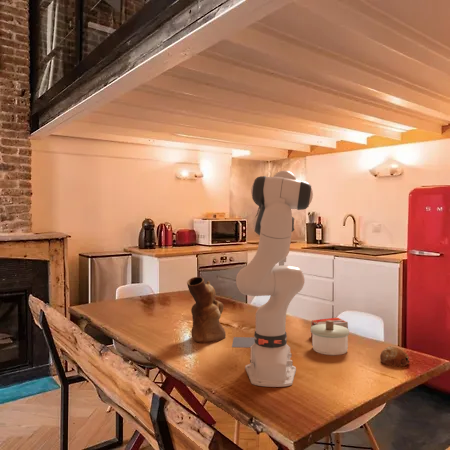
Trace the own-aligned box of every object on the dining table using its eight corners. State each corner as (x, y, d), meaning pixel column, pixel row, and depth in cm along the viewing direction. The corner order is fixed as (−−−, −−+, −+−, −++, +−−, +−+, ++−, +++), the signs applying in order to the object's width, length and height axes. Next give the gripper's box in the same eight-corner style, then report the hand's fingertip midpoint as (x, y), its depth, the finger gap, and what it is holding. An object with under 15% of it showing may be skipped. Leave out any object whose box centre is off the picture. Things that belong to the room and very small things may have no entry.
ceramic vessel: (232, 337, 191) (231, 274, 190) (204, 350, 173) (203, 280, 172) (205, 332, 200) (205, 271, 199) (176, 344, 182) (175, 277, 181)
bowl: (350, 355, 167) (350, 337, 166) (315, 354, 168) (315, 336, 168) (343, 344, 181) (343, 327, 181) (310, 343, 182) (310, 327, 182)
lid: (353, 338, 165) (353, 326, 165) (313, 337, 167) (313, 326, 167) (344, 327, 181) (344, 316, 181) (308, 326, 183) (308, 316, 182)
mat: (264, 348, 176) (264, 347, 176) (231, 347, 177) (231, 347, 177) (263, 338, 190) (263, 337, 190) (233, 337, 191) (233, 337, 191)
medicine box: (320, 342, 185) (320, 324, 184) (310, 336, 192) (310, 320, 192) (348, 338, 190) (348, 321, 189) (337, 333, 197) (338, 317, 197)
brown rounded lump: (390, 365, 165) (381, 346, 167) (414, 360, 159) (405, 340, 161) (381, 373, 158) (373, 353, 160) (407, 367, 152) (397, 346, 154)
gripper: (289, 242, 183) (289, 272, 184) (286, 238, 204) (286, 266, 204) (275, 242, 184) (275, 272, 185) (274, 238, 204) (274, 265, 205)
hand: (281, 269), depth 195 cm, fingers open, 8 cm apart
